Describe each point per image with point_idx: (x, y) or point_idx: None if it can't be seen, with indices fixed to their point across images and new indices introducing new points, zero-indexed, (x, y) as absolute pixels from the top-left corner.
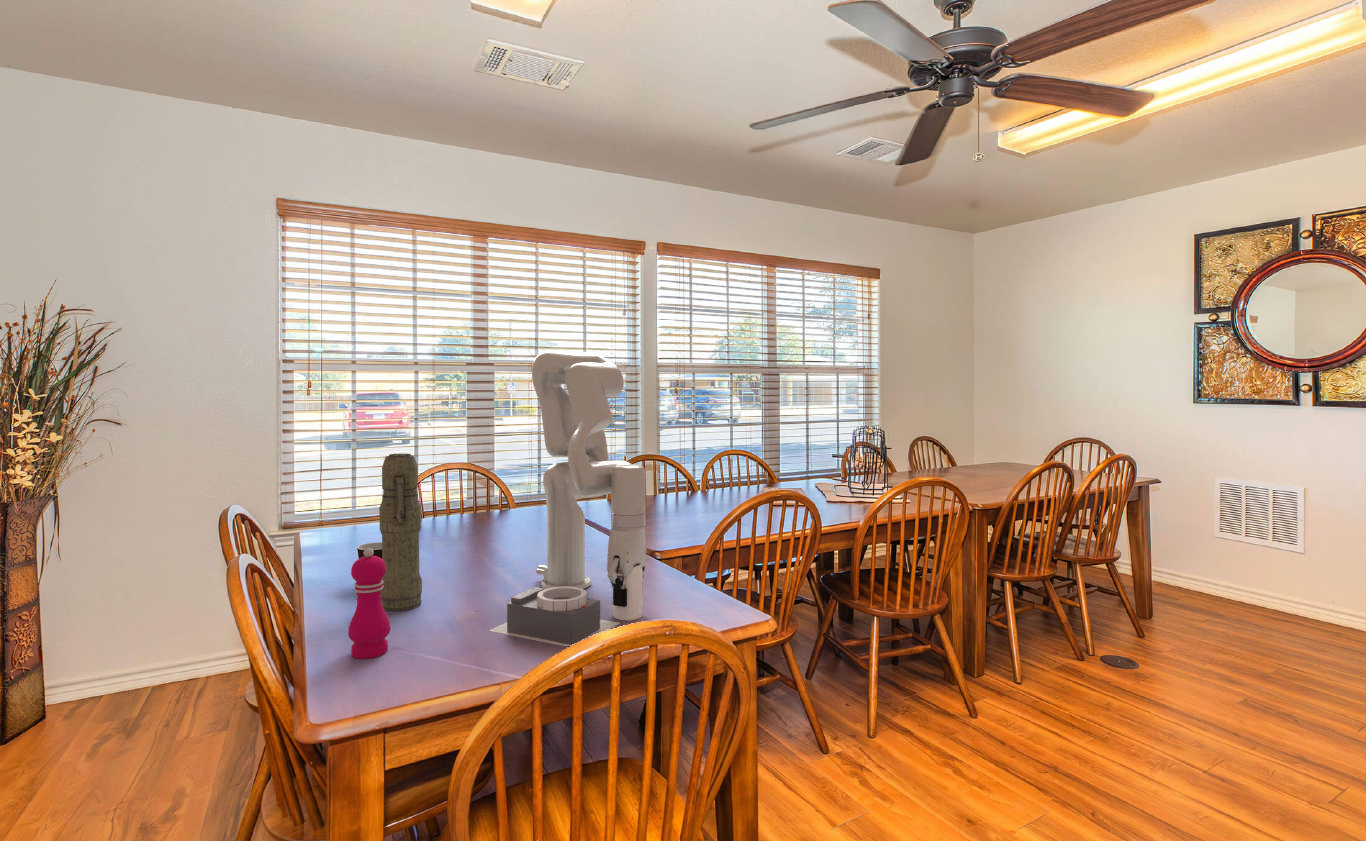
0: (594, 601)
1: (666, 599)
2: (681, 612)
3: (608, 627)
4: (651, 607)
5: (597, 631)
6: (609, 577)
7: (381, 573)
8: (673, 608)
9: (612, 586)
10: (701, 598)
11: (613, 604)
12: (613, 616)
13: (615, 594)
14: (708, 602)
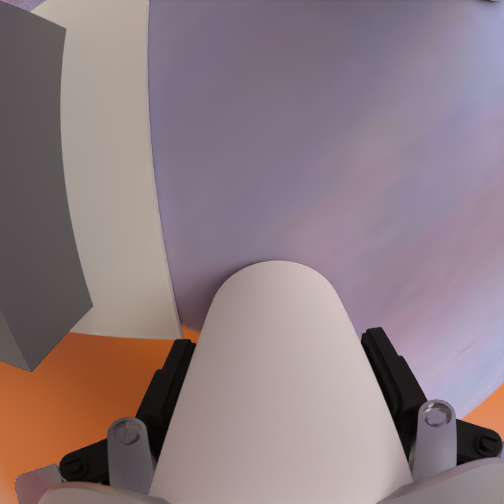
0: (11, 355)
1: (490, 315)
2: None
3: (119, 325)
4: (417, 327)
5: None
6: (30, 479)
7: None
8: (419, 380)
9: (114, 427)
10: (493, 375)
11: (177, 339)
12: (225, 281)
13: (144, 402)
14: (467, 402)
